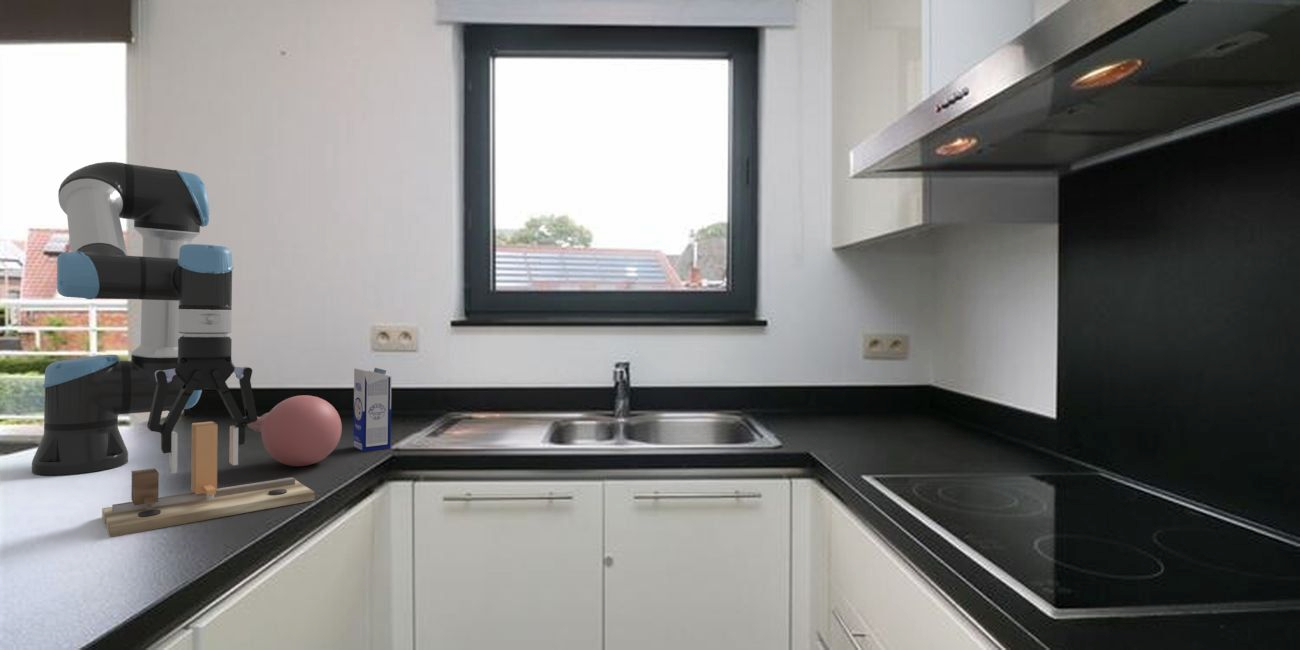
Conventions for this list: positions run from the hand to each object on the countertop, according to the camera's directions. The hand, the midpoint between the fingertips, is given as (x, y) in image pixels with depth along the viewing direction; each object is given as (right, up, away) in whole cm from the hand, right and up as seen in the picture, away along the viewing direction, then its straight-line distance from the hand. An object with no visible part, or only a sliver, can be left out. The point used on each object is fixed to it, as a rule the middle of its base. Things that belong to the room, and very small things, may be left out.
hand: (204, 467), depth 109 cm
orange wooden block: (+1, -5, -1) cm, 5 cm away
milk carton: (+7, -6, +49) cm, 50 cm away
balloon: (-2, -7, +30) cm, 31 cm away
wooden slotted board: (+2, -7, -1) cm, 7 cm away
